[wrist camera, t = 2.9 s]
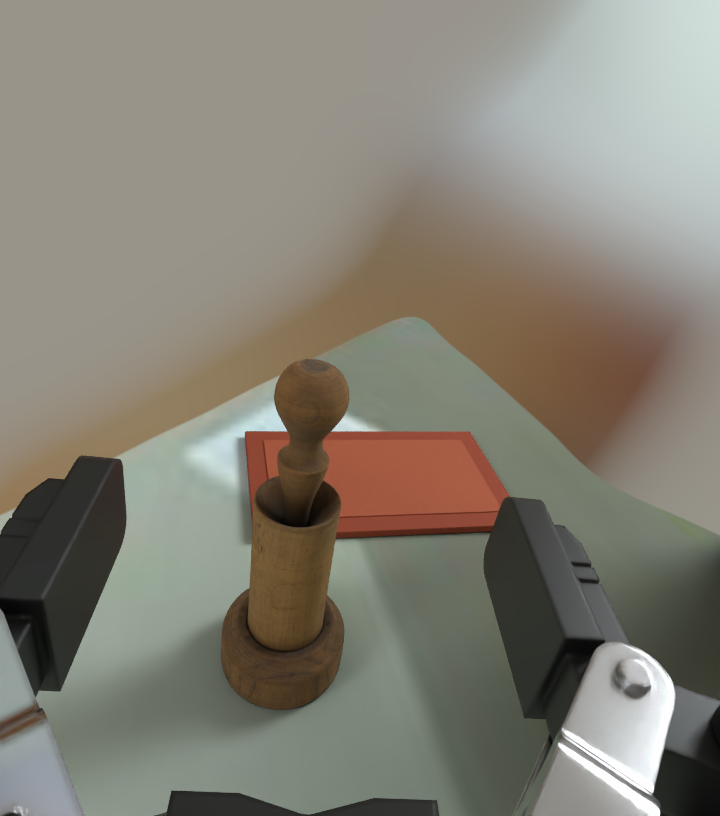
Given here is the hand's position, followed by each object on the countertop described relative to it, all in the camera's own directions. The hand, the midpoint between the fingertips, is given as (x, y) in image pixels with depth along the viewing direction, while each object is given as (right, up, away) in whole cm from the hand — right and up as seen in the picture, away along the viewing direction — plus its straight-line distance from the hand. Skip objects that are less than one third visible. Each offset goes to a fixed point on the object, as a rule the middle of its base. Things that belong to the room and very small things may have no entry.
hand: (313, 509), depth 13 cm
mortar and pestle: (-3, -11, +20) cm, 23 cm away
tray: (+2, -4, +34) cm, 34 cm away
